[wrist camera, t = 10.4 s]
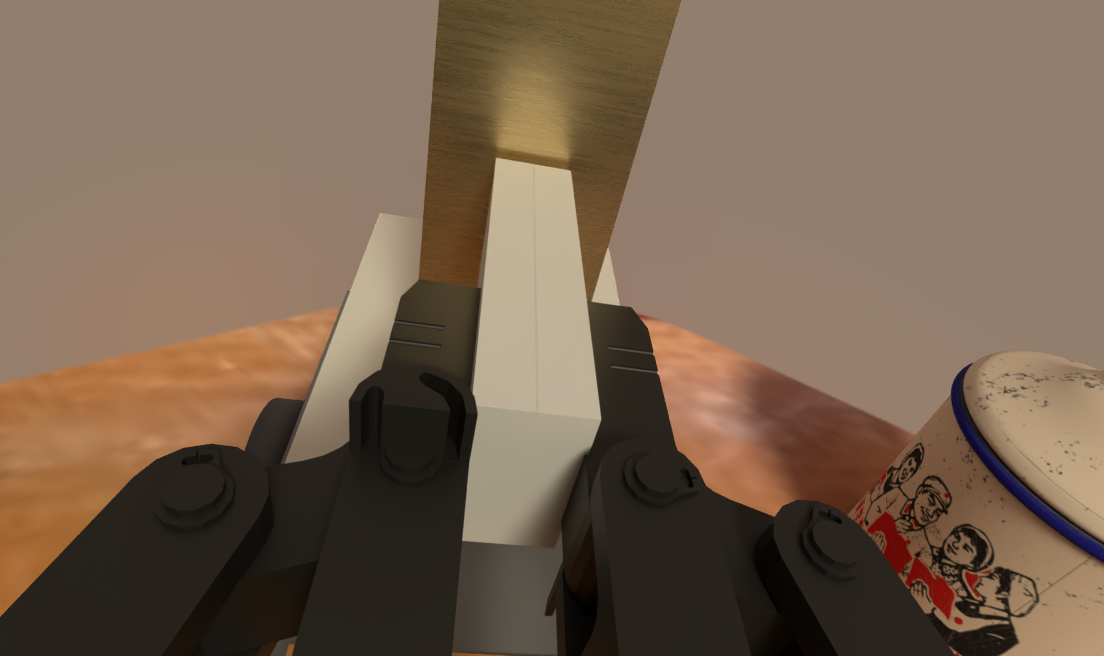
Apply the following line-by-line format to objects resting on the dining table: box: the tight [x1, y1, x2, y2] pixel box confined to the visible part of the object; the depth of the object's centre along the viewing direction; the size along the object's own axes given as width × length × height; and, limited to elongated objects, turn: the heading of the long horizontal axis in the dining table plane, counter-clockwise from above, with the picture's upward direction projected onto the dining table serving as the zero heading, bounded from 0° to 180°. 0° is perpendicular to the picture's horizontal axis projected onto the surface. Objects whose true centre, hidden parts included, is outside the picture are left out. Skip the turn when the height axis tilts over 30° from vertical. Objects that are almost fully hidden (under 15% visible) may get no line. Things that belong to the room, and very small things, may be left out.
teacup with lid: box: [847, 351, 1104, 656], centre depth 19 cm, size 12×9×12 cm
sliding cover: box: [285, 0, 681, 463], centre depth 16 cm, size 12×9×13 cm
